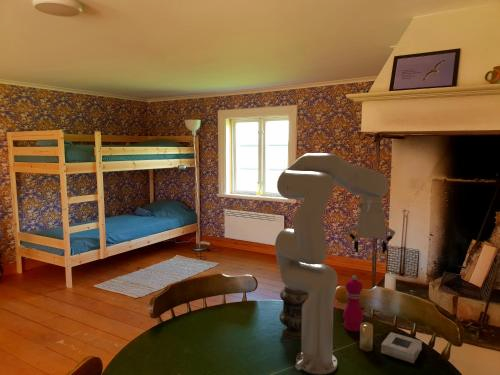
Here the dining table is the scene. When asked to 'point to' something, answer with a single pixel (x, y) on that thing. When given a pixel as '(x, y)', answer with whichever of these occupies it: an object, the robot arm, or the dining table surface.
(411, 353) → the jig
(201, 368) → the dining table surface
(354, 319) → the pepper mill
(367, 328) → the cylinder
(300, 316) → the apothecary jar
